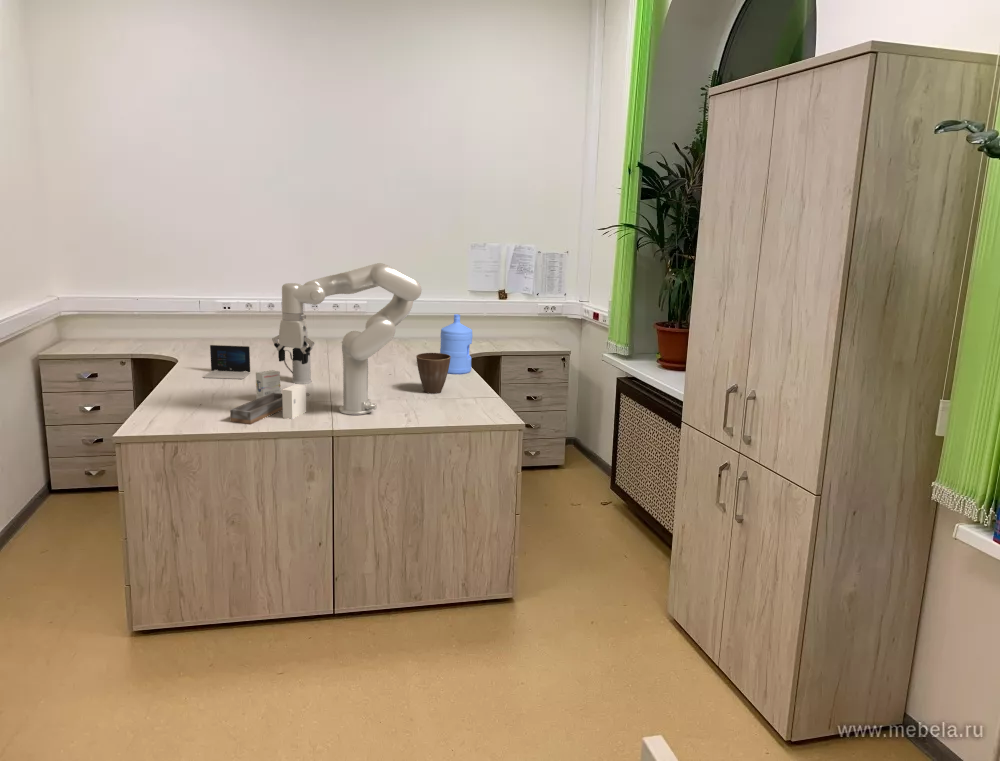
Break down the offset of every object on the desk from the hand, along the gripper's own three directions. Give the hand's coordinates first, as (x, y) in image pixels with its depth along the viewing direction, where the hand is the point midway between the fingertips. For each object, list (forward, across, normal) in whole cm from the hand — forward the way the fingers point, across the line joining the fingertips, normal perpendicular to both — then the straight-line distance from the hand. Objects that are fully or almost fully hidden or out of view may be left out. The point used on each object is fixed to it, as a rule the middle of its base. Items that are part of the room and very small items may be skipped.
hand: (293, 362), depth 286 cm
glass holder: (+21, +28, -48) cm, 59 cm away
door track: (+21, +12, +3) cm, 24 cm away
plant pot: (+20, -34, -57) cm, 70 cm away
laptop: (+21, +61, -42) cm, 77 cm away
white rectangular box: (+21, 0, 0) cm, 21 cm away
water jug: (+20, -28, -101) cm, 107 cm away
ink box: (+21, +21, -15) cm, 33 cm away
